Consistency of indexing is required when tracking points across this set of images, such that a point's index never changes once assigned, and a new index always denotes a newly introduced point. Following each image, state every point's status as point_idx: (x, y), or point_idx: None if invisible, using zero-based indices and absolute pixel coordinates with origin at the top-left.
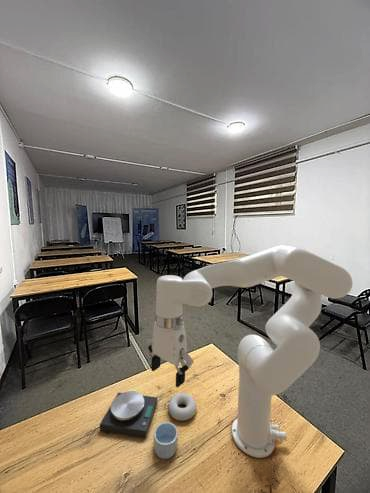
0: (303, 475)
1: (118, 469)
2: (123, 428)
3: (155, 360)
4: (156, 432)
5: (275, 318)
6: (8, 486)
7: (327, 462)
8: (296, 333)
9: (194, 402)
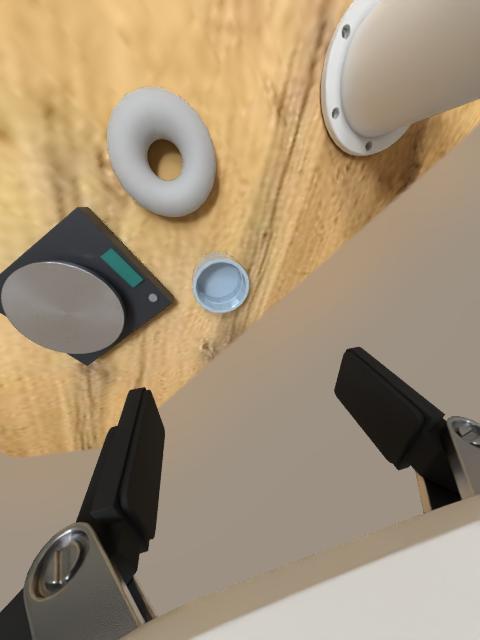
0: (470, 107)
1: (189, 352)
2: (130, 333)
3: (151, 504)
4: (198, 294)
5: None
6: None
7: None
8: None
9: (195, 117)
